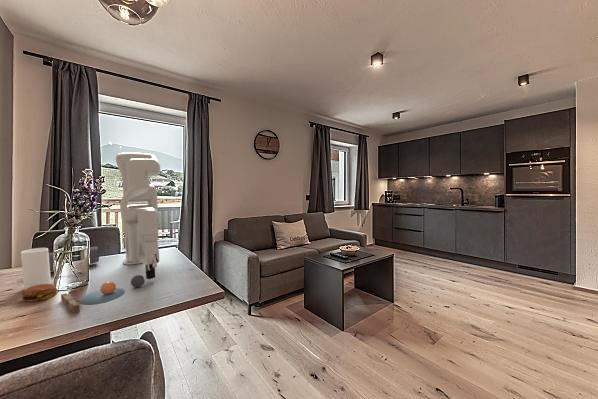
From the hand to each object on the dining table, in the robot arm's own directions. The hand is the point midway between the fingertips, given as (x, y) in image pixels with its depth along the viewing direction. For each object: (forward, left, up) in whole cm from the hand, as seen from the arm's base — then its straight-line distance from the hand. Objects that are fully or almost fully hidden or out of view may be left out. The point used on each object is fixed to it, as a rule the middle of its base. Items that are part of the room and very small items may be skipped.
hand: (150, 278), depth 118 cm
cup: (-34, -31, -2) cm, 46 cm away
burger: (-19, -33, -2) cm, 38 cm away
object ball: (0, -16, +1) cm, 16 cm away
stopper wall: (0, -28, -2) cm, 28 cm away
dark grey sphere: (+2, -6, +1) cm, 6 cm away
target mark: (0, -18, -2) cm, 18 cm away
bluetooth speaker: (-52, -16, -2) cm, 54 cm away
